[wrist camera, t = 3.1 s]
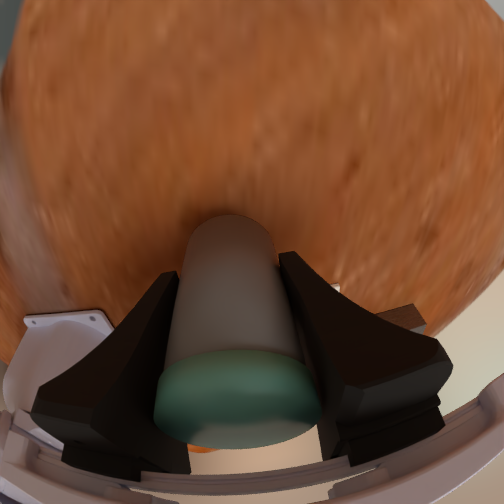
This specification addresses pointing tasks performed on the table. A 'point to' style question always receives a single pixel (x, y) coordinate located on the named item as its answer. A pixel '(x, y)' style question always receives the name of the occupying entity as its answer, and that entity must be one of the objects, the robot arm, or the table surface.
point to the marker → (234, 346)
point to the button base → (405, 318)
